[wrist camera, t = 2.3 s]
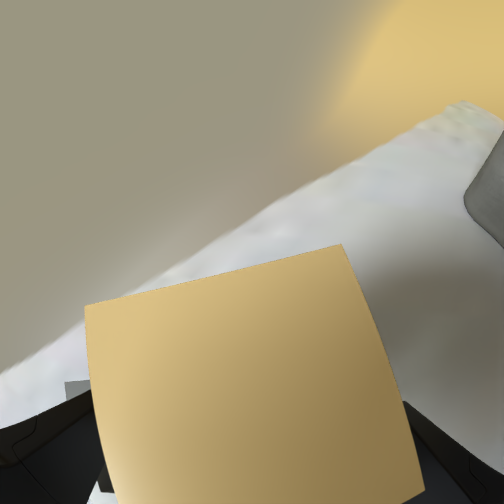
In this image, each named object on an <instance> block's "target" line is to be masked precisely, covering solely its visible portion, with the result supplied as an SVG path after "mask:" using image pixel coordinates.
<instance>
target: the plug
mask: <svg viewBox="0 0 504 504" xmlns="http://www.w3.org/2000/svg"><path fill="white" fill-rule="evenodd" d="M85 329H86V345H87V357H88V367H89V376H90V384H91V391H92V398H93V404H94V410H95V416H96V421H97V426H98V431H99V436H100V440H101V445H102V449H103V453H104V457H105V461H106V465H107V468H108V472H109V475H110V479H111V482H112V485H113V489H114V492H115V495H116V498H117V501H118V504H402V503H404V502H405V501H407V500H409V499H411V498H413V497H414V496H416V495H418V494H420V493H421V492H423V491H425V487H424V483H423V478H422V473H421V469H420V465H419V461H418V456H417V452H416V448H415V445H414V441H413V437H412V433H411V430H410V426H409V423H408V419H407V416H406V412H405V409H404V406H403V402H402V399H401V396H400V393H399V390H398V387H397V384H396V380H395V377H394V374H393V372H392V369H391V366H390V363H389V360H388V357H387V354H386V352H385V349H384V346H383V343H382V341H381V338H380V335H379V333H378V330H377V327H376V325H375V322H374V320H373V317H372V315H371V312H370V309H369V307H368V305H367V302H366V300H365V297H364V295H363V292H362V290H361V288H360V285H359V283H358V281H357V278H356V276H355V274H354V271H353V269H352V267H351V264H350V262H349V260H348V258H347V256H346V253H345V251H344V249H343V247H342V245H341V244H339V245H335V246H331V247H327V248H323V249H319V250H315V251H311V252H307V253H303V254H299V255H296V256H292V257H288V258H284V259H280V260H276V261H272V262H268V263H264V264H259V265H255V266H251V267H247V268H243V269H239V270H235V271H231V272H227V273H223V274H219V275H214V276H210V277H206V278H202V279H198V280H194V281H189V282H185V283H181V284H177V285H173V286H168V287H164V288H160V289H156V290H151V291H147V292H143V293H138V294H134V295H130V296H125V297H121V298H117V299H112V300H108V301H103V302H99V303H94V304H90V305H86V306H85Z"/></svg>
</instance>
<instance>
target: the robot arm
mask: <svg viewBox="0 0 504 504" xmlns="http://www.w3.org/2000/svg"><path fill="white" fill-rule="evenodd" d="M402 402H403V406H404V409H405V412H406V416H407V419H408V423H409V426H410V430H411V433H412V437H413V441H414V445H415V448H416V452H417V456H418V461H419V465H420V469H421V473H422V478H423V483H424V487H425V491H423V492H421V493H420V494H418V495H416V496H414V497H413V498H411V499H409V500H407V501H405V502H404V503H402V504H504V475H503V474H501V473H499V472H498V471H496V470H494V469H493V468H491V467H490V466H488V465H487V464H485V463H484V462H482V461H481V460H480V459H478V458H477V457H476V456H474V455H473V454H472V453H470V452H469V451H468V450H467V449H465V448H464V447H463V446H461V445H460V444H459V443H458V442H456V441H455V440H454V439H452V438H451V437H450V436H449V435H447V434H446V433H445V432H444V431H442V430H441V429H440V428H439V427H437V426H436V425H435V424H433V423H432V422H431V421H430V420H428V419H427V418H426V417H425V416H423V415H422V414H421V413H420V412H418V411H417V410H416V409H415V408H413V407H412V406H411V405H410V404H408V403H407V402H406V401H402ZM105 462H106V461H105V457H104V453H103V449H102V445H101V440H100V436H99V431H98V426H97V421H96V416H95V410H94V404H93V398H92V391H91V389H90V390H88V391H86V392H84V393H82V394H80V395H78V396H76V397H73V398H71V399H69V400H67V401H65V402H63V403H61V404H59V405H57V406H55V407H53V408H51V409H49V410H47V411H44V412H42V413H40V414H38V415H36V416H34V417H31V418H29V419H27V420H24V421H22V422H20V423H17V424H14V425H11V426H9V427H6V428H2V429H0V504H87V502H88V499H89V497H90V495H91V493H92V491H93V488H94V486H95V484H96V482H97V480H98V477H99V475H100V473H101V471H102V469H103V467H104V465H105Z"/></svg>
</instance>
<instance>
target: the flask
mask: <svg viewBox="0 0 504 504" xmlns="http://www.w3.org/2000/svg"><path fill="white" fill-rule="evenodd" d="M464 203H465V206H466V208H467V211H468V213H469V214H470V215H471V217H472V218H473V219H474V220H475V221H476V222H477V223H478V224H479V225H480V226H482V227H483V228H484V229H485V230H486V231H487V232H488V233H490V234H491V235H492V236H493V237H494V238H495V239H496V240H497V241H498V243H499V244H500V245H501V246H502V247H503V248H504V131H503V133H502V134H501V136H500V138H499V140H498V141H497V143H496V145H495V147H494V148H493V150H492V152H491V153H490V155H489V157H488V158H487V160H486V161H485V163H484V165H483V166H482V168H481V169H480V171H479V172H478V174H477V175H476V177H475V179H474V180H473V182H472V183H471V185H470V186H469V187H468V189H467V190H466V192H465V195H464Z"/></svg>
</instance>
